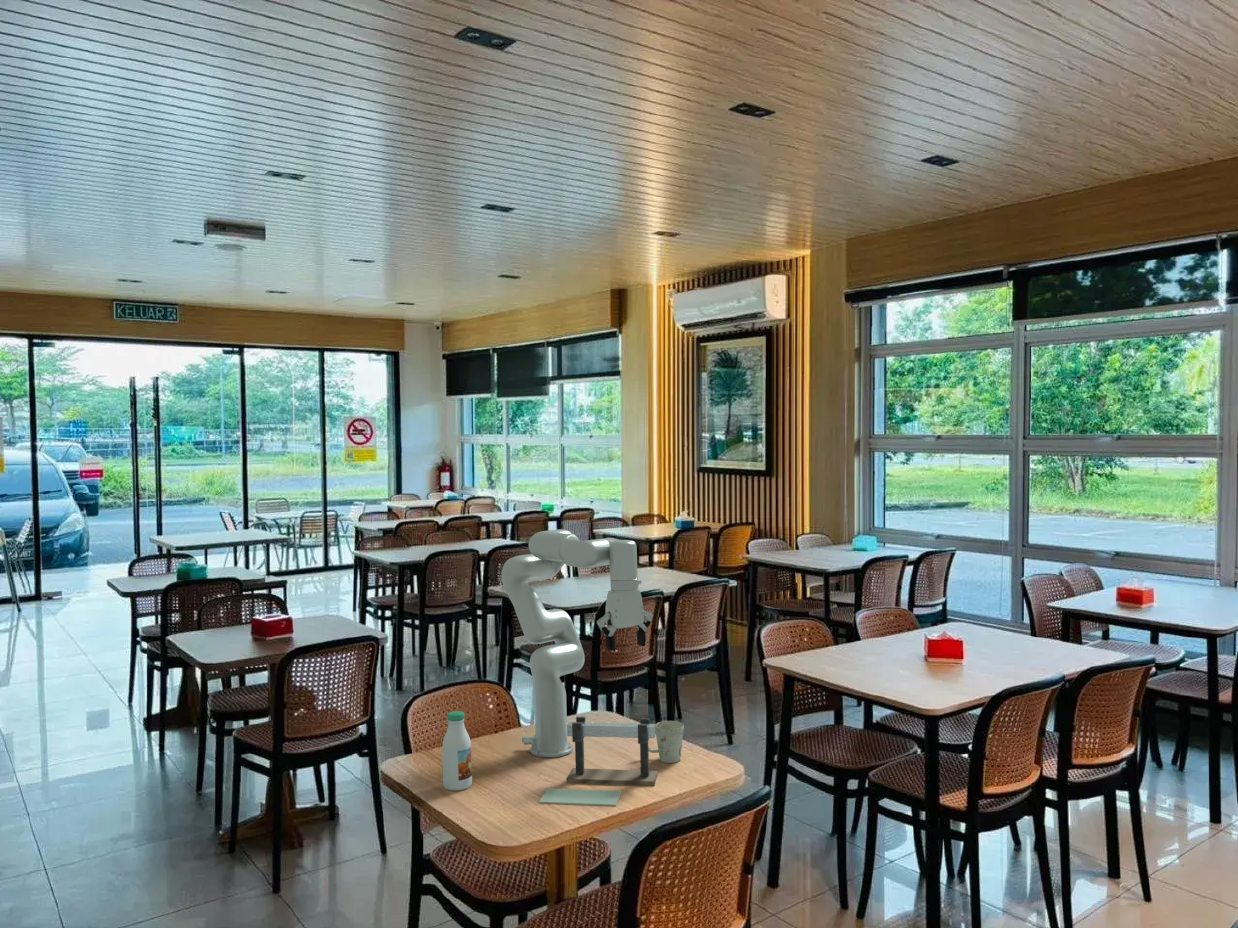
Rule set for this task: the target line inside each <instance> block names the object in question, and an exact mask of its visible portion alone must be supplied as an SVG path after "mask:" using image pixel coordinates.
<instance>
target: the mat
mask: <svg viewBox="0 0 1238 928" xmlns="http://www.w3.org/2000/svg"><path fill="white" fill-rule="evenodd" d="M622 793H623V792H622V790H600V789H598V790H597V789H596V790H595V789H594V790H593V789H572V788H571V789H570V788H569V789H567V788H566V789H565V788H546V790H545V792H544V793H543V795H542V797H540V800H539V802H538V803H539V804H547V803H548V805H549V804H550V805H551V804H553V805H576V806H581V805H582V806H599V807H600V806H602V807H617V805H618V802H619V800H620V798H621V795H622Z"/></svg>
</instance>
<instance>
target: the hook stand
mask: <svg viewBox="0 0 1238 928" xmlns="http://www.w3.org/2000/svg"><path fill="white" fill-rule="evenodd" d="M575 722H586V716H576V717H575ZM650 722H651V721H650V717H649V718H647V717H641V718H640V723H637V724H638V738H637V744H639V751H640V752H639V754H640V755H639V756H640V760H639V761H640V763H639V764H640V769H615V768H614V769H612V768H611V769H608V768H585V747H584V744H585V743H584V740H585V739H584V738H585V737H582V724H581V723H572V736H571V737H572V742H573V743H574V750H575V751H574V755H575V756H574V757H575V759H574V760H575V761H574V762H575V767H573V768H571V770H570V772H569V773H568V775H567V777H566V779H565V780H566V783H567V784H587V785H588V784H589V785H611V786H612V785H617V786H641V787H642V786H643V787H644V786H645V787H646V786H647V787H648V786H649V787H654V786H655V784H656V781H657V778H658V773H659V772H658V770H650V762H649V761H650V756H649V755H650V754H649V753H650V752H649V750H648V747H649V739H650V738H647V724H651V723H650Z"/></svg>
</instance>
